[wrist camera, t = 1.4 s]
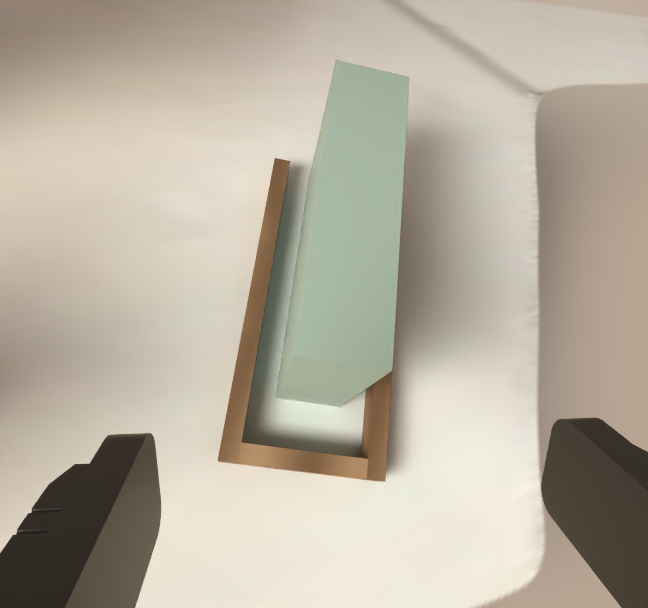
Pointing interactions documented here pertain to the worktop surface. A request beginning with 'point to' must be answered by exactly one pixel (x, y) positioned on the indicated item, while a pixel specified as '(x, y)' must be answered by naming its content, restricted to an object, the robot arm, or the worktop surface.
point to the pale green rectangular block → (348, 243)
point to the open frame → (231, 444)
